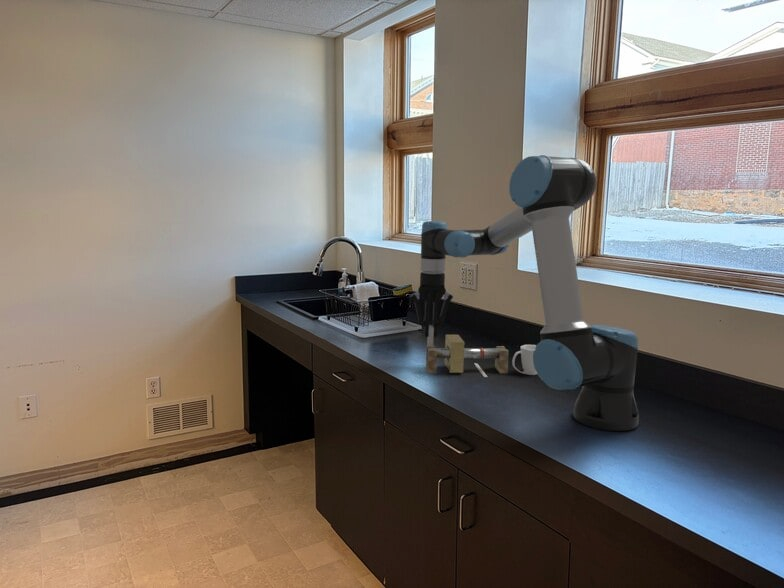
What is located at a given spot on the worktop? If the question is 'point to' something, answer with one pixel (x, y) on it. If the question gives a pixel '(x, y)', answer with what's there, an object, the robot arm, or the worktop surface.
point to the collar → (454, 353)
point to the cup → (526, 359)
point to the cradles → (500, 362)
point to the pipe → (471, 352)
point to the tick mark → (480, 370)
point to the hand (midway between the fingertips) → (430, 346)
